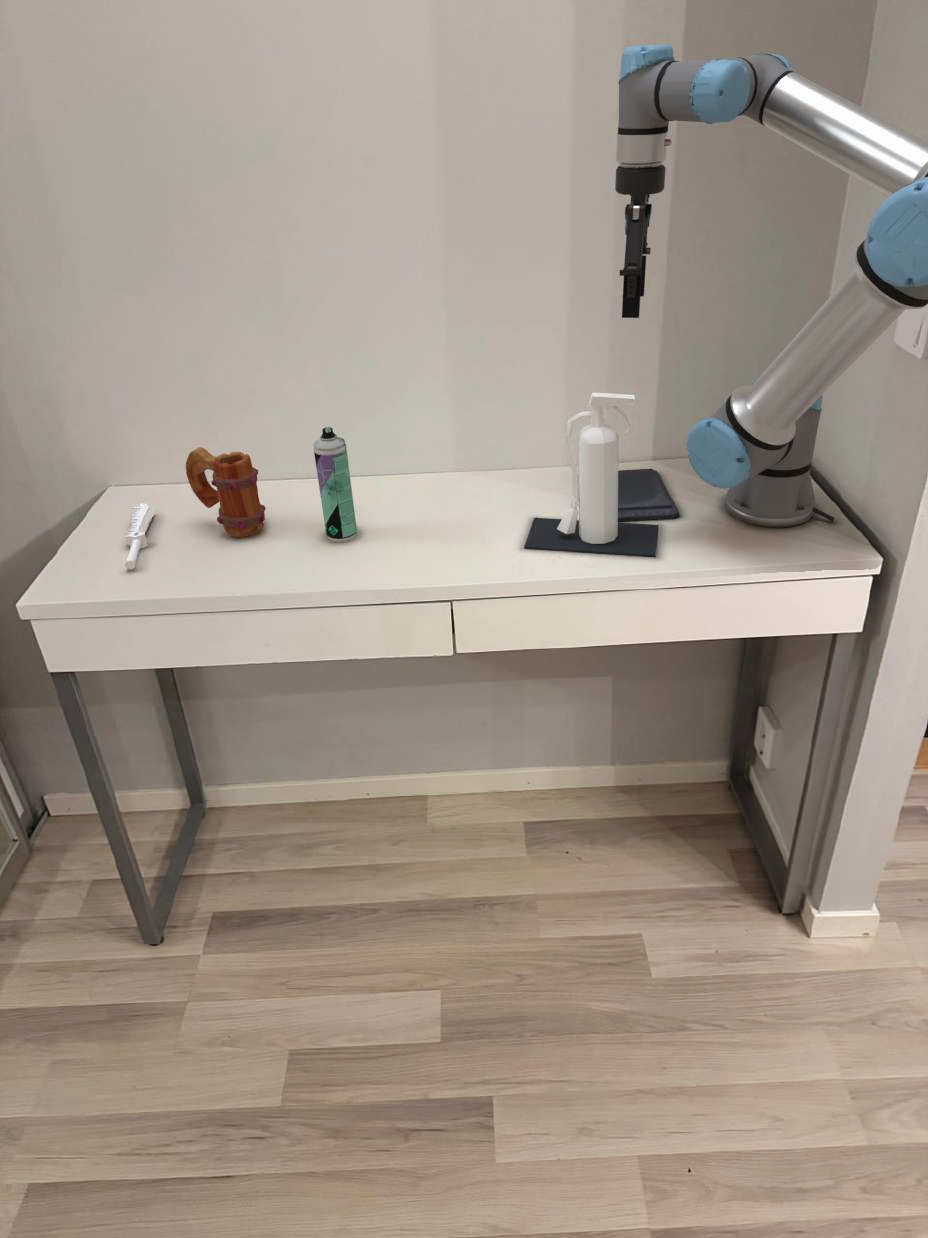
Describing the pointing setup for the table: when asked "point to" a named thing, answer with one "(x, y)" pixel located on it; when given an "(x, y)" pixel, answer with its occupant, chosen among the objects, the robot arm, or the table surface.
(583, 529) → the fire extinguisher
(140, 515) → the toy saw sword
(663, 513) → the wallet
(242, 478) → the mug
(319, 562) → the table surface
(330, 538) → the spray can
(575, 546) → the mat
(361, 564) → the table surface
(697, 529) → the table surface
